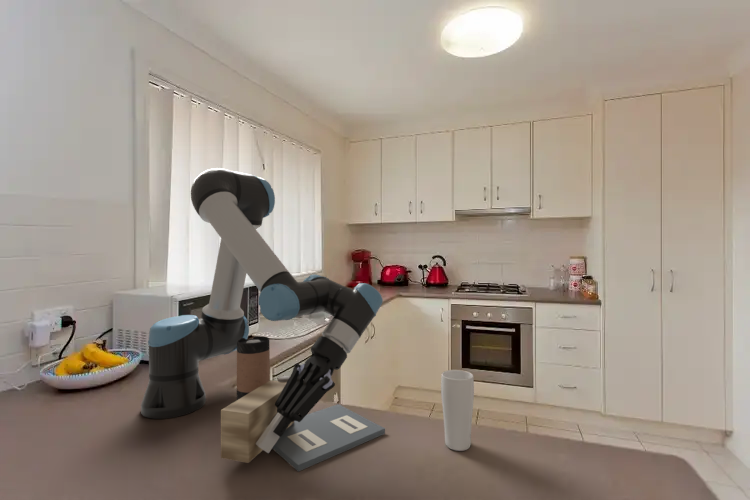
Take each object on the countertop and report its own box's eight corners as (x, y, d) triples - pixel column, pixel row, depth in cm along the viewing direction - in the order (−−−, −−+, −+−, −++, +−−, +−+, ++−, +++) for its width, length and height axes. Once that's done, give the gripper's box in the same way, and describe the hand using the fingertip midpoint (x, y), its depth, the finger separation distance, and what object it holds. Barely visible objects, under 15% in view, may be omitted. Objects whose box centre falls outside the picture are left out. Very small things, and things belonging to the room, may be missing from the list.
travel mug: (260, 431, 86) (259, 344, 86) (230, 428, 87) (229, 342, 87) (275, 417, 93) (275, 336, 93) (247, 414, 95) (247, 335, 95)
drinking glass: (453, 434, 84) (452, 367, 84) (480, 445, 79) (480, 374, 79) (435, 445, 79) (434, 374, 79) (462, 458, 74) (462, 382, 74)
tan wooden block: (276, 414, 89) (276, 375, 89) (299, 417, 87) (299, 377, 87) (220, 457, 70) (220, 407, 70) (248, 462, 69) (248, 411, 69)
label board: (255, 434, 84) (255, 425, 84) (335, 407, 99) (335, 399, 99) (298, 471, 70) (298, 460, 70) (384, 433, 84) (384, 424, 84)
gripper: (362, 361, 78) (291, 472, 67) (327, 349, 88) (260, 444, 77) (342, 340, 75) (263, 453, 64) (308, 330, 85) (234, 426, 74)
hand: (262, 448), depth 70 cm, fingers closed
